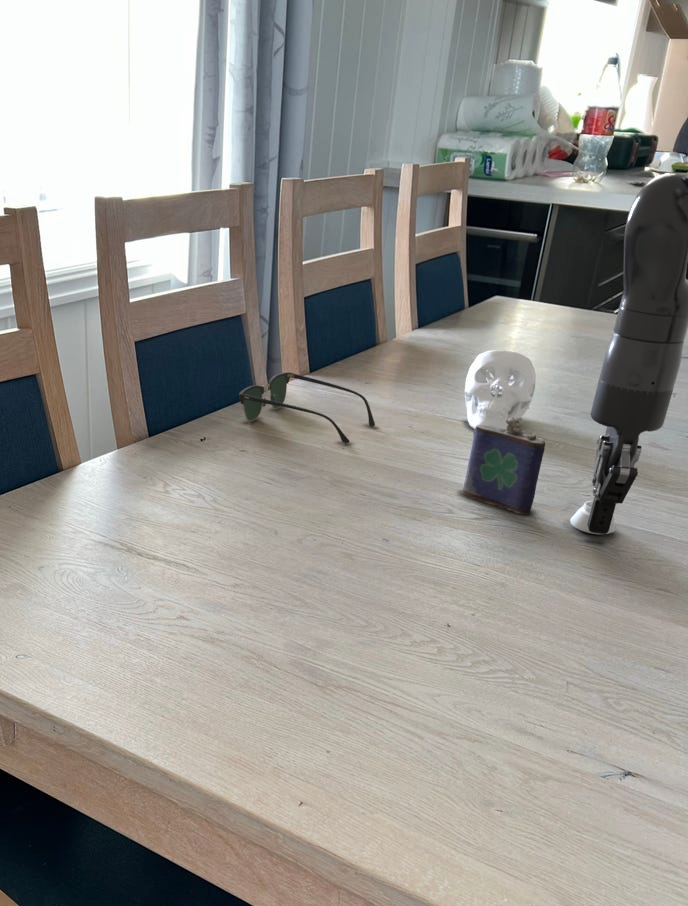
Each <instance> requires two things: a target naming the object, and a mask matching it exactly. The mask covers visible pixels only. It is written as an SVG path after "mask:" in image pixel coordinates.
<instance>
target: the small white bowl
mask: <svg viewBox="0 0 688 906" xmlns="http://www.w3.org/2000/svg"><path fill="white" fill-rule="evenodd" d="M592 504H593V500H587V501H585V502H584V503H583V505H582V506H581V507H579V509H577V511H576V512H575V513H574V514H573V515H572V517H571V518H570V520H569V521H570V525H571V526H573V527H574V528H576V529H577V530H578V531H581V532H583V533H587V534H591V535H597V536H598V535H601V536H602V535H603V534H601V533H593V532H590V531H589V528H588V525H587V523H588V519H589V516H590V512H591V508H592ZM616 528H617V525H616V522H615V517H614V516H613V517H612V521H611V524H610V528H609V531H608V533H606V534H605V535H608V534H611V533H614V532H615V531H616Z"/></svg>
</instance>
